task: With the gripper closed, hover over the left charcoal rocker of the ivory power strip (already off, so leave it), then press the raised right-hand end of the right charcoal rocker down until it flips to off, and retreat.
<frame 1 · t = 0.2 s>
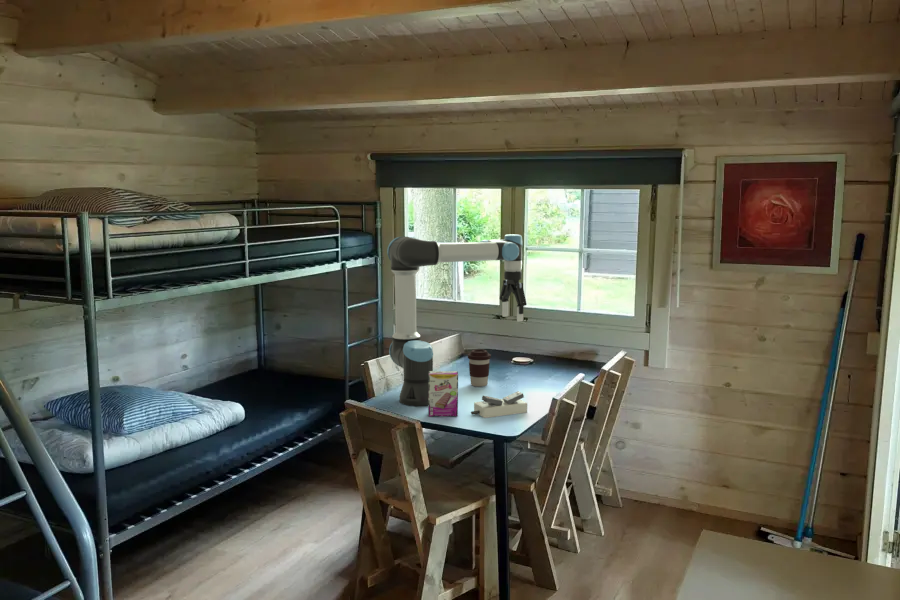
hand: (512, 318, 319), 28 cm above the table, fingers open, 13 cm apart
rocker A: (492, 400, 273), point 6 cm above the table, hinge at 17.0°
coffee cup: (479, 385, 317), on the table
power strip: (500, 411, 278), on the table
candy bar box: (443, 415, 274), on the table
rocker B: (513, 397, 277), point 6 cm above the table, hinge at -17.0°
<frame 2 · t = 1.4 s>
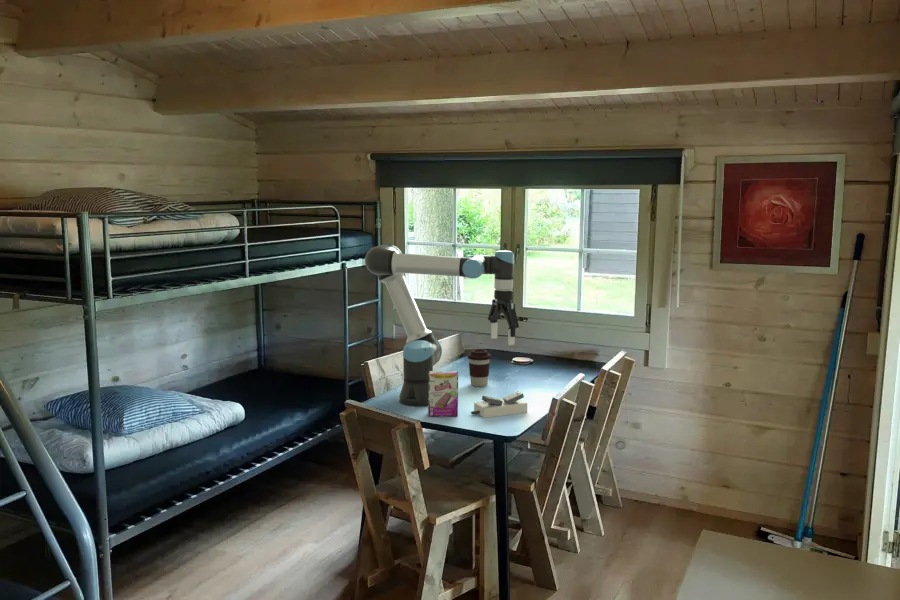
hand: (502, 341, 296), 23 cm above the table, fingers open, 13 cm apart
nothing on the table moved.
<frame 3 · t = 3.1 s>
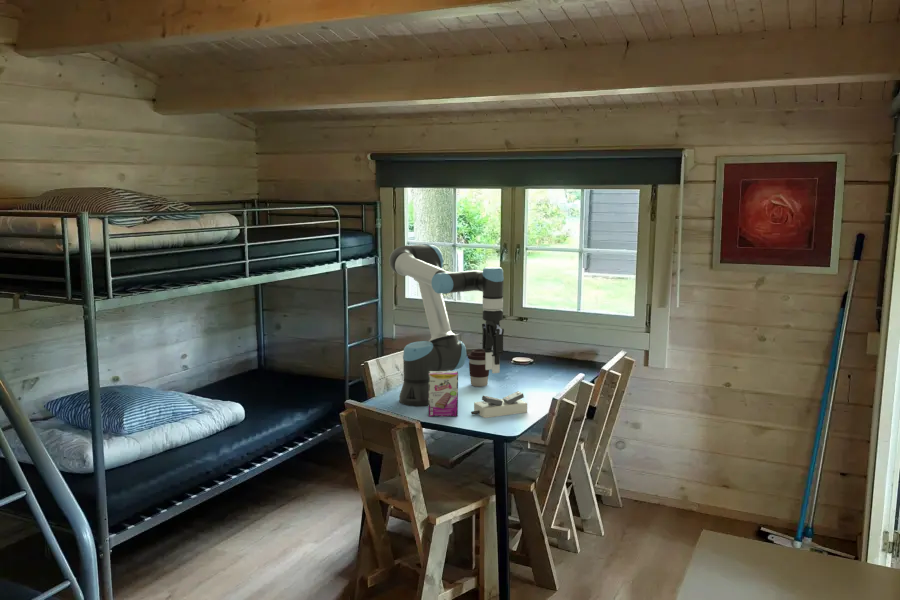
hand: (492, 371, 272), 17 cm above the table, fingers open, 5 cm apart
nothing on the table moved.
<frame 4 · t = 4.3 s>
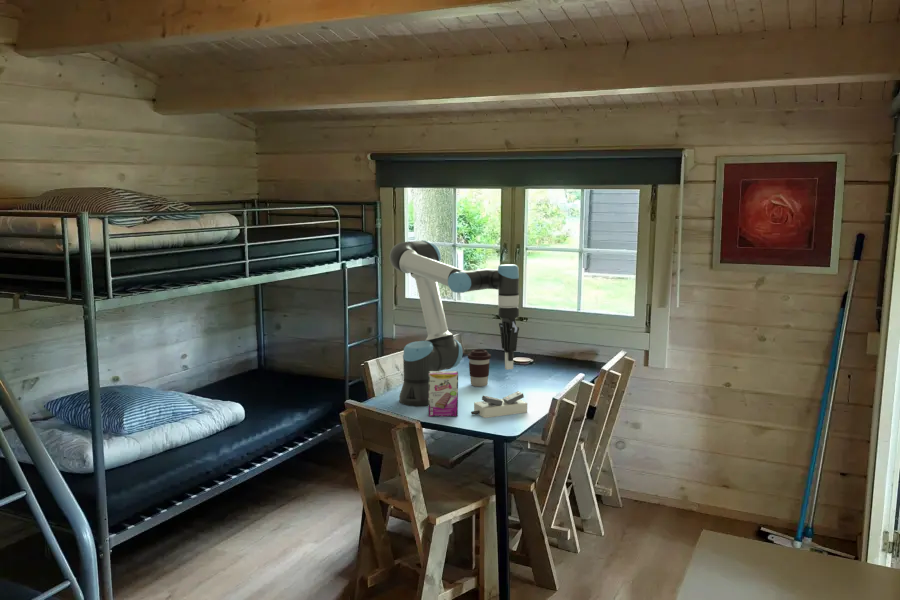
hand: (509, 368, 273), 17 cm above the table, fingers closed
nothing on the table moved.
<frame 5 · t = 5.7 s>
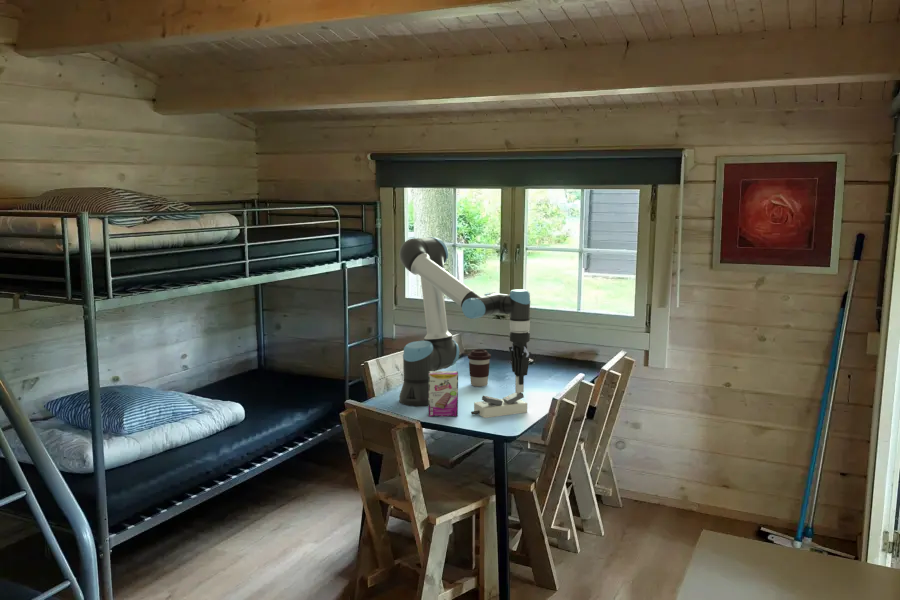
hand: (519, 392, 278), 7 cm above the table, fingers closed
rocker B: (513, 397, 277), point 6 cm above the table, hinge at -16.9°, touching gripper
everything else where it was.
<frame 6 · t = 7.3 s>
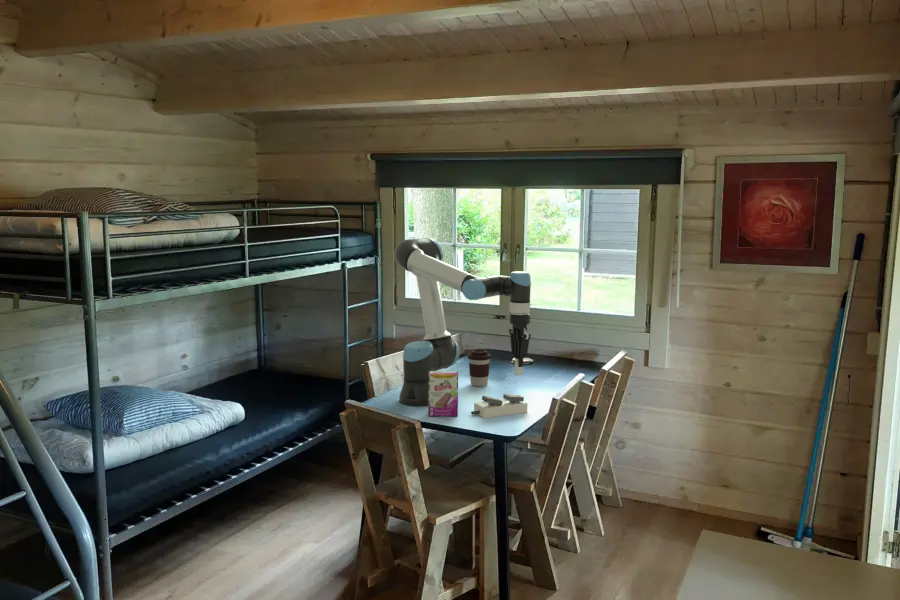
hand: (518, 374, 277), 14 cm above the table, fingers closed
rocker B: (513, 397, 277), point 6 cm above the table, hinge at 10.1°
everything else where it was.
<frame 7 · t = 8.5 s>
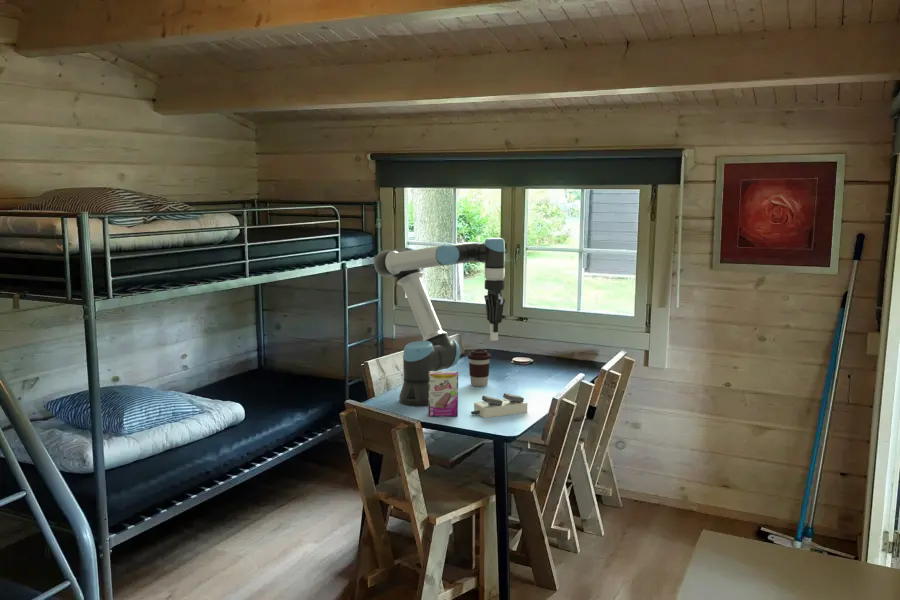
hand: (494, 340, 280), 26 cm above the table, fingers closed
rocker B: (513, 397, 277), point 6 cm above the table, hinge at 15.1°
everything else where it was.
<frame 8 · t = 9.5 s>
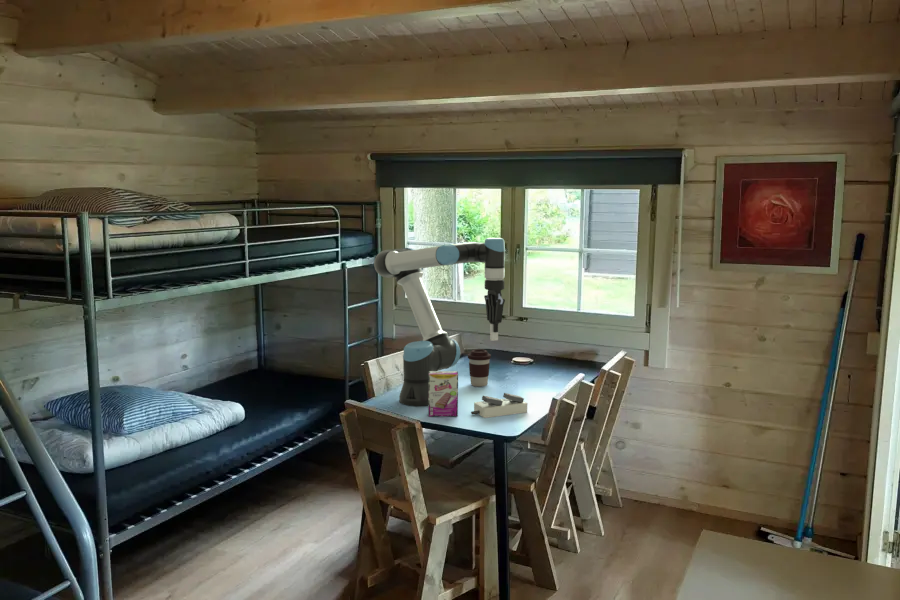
hand: (494, 340, 280), 26 cm above the table, fingers closed
rocker B: (513, 397, 277), point 6 cm above the table, hinge at 16.9°
everything else where it was.
at the end: rocker B at +17° (first picture: -17°); rocker A at +17° (first picture: +17°) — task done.
